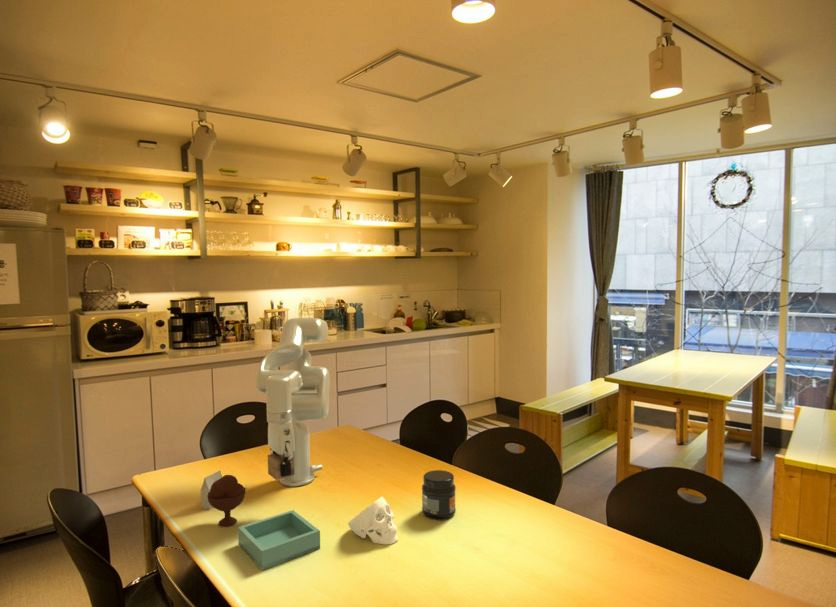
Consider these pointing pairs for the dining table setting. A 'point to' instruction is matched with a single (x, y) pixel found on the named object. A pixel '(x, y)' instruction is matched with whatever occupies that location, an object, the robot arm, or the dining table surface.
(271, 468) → the walnut cube
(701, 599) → the dining table surface
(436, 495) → the supplement container
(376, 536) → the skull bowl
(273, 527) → the stoneware box
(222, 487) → the ice cream bowl
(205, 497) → the tea bag
